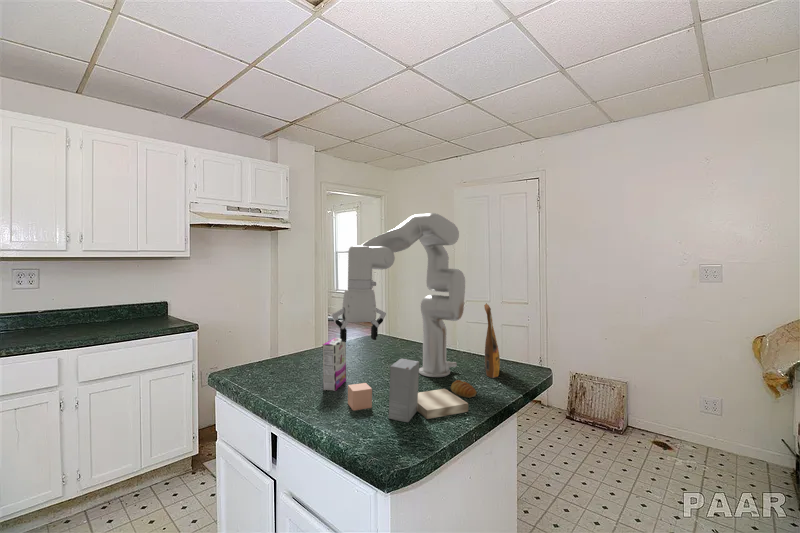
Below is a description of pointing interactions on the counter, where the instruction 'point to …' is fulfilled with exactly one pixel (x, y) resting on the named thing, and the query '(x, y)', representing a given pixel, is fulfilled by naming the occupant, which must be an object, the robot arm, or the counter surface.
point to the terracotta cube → (359, 396)
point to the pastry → (463, 389)
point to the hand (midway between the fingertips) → (359, 340)
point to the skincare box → (403, 389)
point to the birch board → (440, 403)
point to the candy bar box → (334, 364)
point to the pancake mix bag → (491, 348)
